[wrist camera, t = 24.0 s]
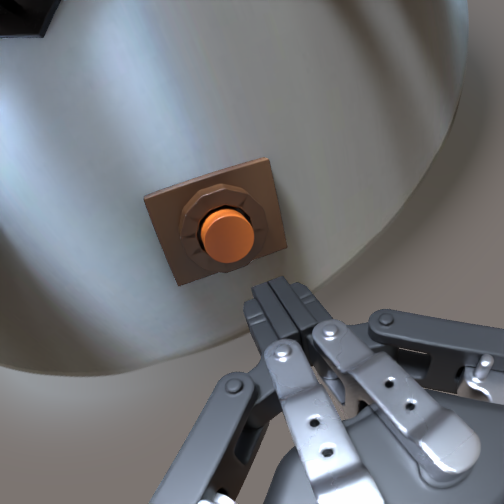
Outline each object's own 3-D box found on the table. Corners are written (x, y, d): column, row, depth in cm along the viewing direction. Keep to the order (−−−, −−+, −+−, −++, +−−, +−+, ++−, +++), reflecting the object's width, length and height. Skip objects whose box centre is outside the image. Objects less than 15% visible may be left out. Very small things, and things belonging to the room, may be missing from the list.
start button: (241, 201, 22) (247, 208, 20) (252, 244, 23) (259, 253, 22) (194, 217, 21) (197, 225, 20) (208, 259, 23) (212, 270, 21)
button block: (264, 156, 23) (277, 162, 21) (282, 242, 27) (296, 256, 25) (144, 195, 22) (141, 205, 19) (177, 279, 26) (179, 298, 23)
